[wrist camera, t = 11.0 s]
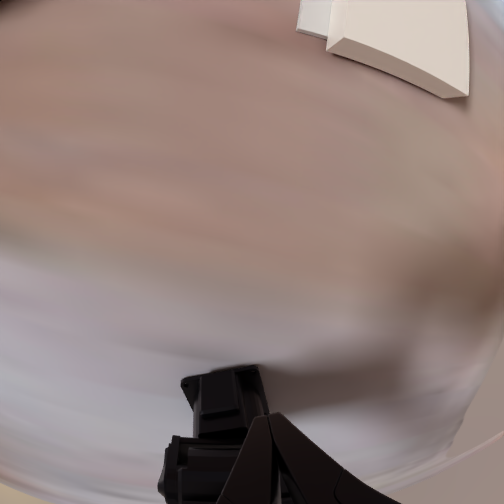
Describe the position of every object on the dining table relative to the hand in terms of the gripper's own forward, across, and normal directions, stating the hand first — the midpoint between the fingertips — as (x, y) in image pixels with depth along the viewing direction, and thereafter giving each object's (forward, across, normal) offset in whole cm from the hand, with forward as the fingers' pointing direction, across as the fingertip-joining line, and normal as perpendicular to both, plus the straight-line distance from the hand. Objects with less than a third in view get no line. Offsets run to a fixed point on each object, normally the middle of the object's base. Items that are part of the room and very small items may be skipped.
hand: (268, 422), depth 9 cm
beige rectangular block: (+11, +13, +12) cm, 21 cm away
